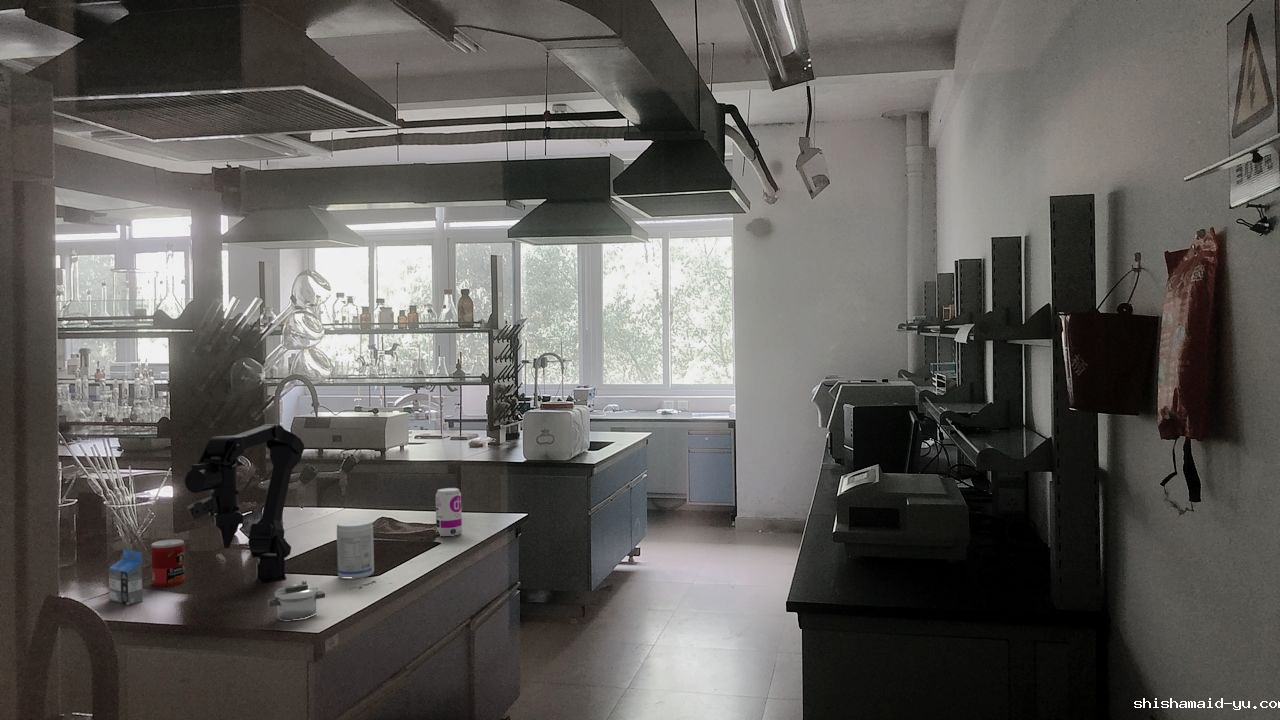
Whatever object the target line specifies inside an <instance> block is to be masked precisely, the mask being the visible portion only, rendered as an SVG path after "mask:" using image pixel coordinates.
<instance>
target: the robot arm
mask: <svg viewBox="0 0 1280 720" xmlns="http://www.w3.org/2000/svg"><path fill="white" fill-rule="evenodd" d="M262 444H264V447H265V448H266V449H268V450H269V459H270V462H271V464H272V470H271V474H270V479H269V482H268V488H267V492H266V495H265V496H266V497H265V500H264V501H265V502H264V506H263V509H262V514H261V518H260V519H259V520H258V522H255V523H254V522H253V523H251V526H250V530H249V535H248V536H247V539H248V547H249V551H250V554H251V556H252V558H255V559H256V558H258V559H257V562H256V563H255V572H256V573H255V574H256V575H255V576H256V577H255V578H256V579H257V580H258V581H259V582H260V583H261V584H262V583H264V584H265V583H269V582H275V581H282V580H284V581H285V580H287V576H286V565H285V564H286V561H285V559H286V558H287V557H289V556H290V555H291V551H292V546H291V545H290V544H289V543H288V542H287V541H286V540H285V528H284V526H283V523H282V518H283V512H284V507H285V503H286V499H287V496H288V495H287V494H288V491H289V485H290V480H291V476H292V471H293V470H294V468H295V467H296V466H297V465H298V464H299V463H300V462H301V459H302V456H303V453H304V451H305V444H304V441H302V439H301V438H300V437H298V436H297V435H296V434H294V433H292V431H291V432H290V431H289V430H287V429H285V428H284V427H283V426H282V425H280V424H279V423H265V424H262V425H261V426H258V427H255V428H252V429H248V430H247V431H243V432H239V433H237V434H234V435H220V436H219V435H218V436H212V437H210V438H209V439H208V442H207V444H206V445H205V448H204V450H203V452H202V454H201V456H200V458H199V460H198V463H196V464H192V465H191V470H189V471H188V472H187V474H186V475H185V478H184V485H185V487H186V489H187V490H188V492H190V493H192V494H198V493H202V492H206V491H210V492H209V496H208V497H205V498H202V499H201V500H198V501H196V502H193V503H190V504H189V505H187V506H186V508H187V510H188V513H189V515H190V516H191V517H190V518H191V520H192V521H196V520H197V519H200V518H201V517H202V516H205V515H207V514H208V515H209V517H213V519H211V522H212V523H213V525H214V526H215V527H217V528H218V530H219V533H220V537H221V542H222V545H223V548H224V549H230V547H231V544H232V542H233V539H234V537H235V534H236V532H237V530H238V528H239V525H241V524H245V523H244V521H245V519H244V514H243V513H242V512H241V511H240V506H239V499H238V498H239V497H238V495H239V494H240V493H239V492H240V491H239V489H238V467H243V465H244V464H243V462H242V461H241V460H239V459H238V458H239V457H241V456H242V455H244V454H245V453H246V451H247V450H248V449H251V448H253V447H256V446H258V445H262ZM213 515H214V516H213Z"/></svg>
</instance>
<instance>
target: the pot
mask: <svg viewBox="0 0 1280 720" xmlns="http://www.w3.org/2000/svg"><path fill="white" fill-rule="evenodd" d="M325 598H326V593H325V591H324V590H320V591H319V590H318V593H317V594H316V595H314V596H311V597H308V598H305V599H299V600H279V599H276V598H275V597H274V598H270V599H267V605H268V607H270V608H272V607H276V606H277V607H276V608H277V609H276V611H277V619H278V618H279V619H282V620H293V619H300V618H305V617H308V616H311V615H313V614H315V613H316V614H317V600H321V599H325Z"/></svg>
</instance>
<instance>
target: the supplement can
mask: <svg viewBox="0 0 1280 720" xmlns="http://www.w3.org/2000/svg"><path fill="white" fill-rule="evenodd" d="M462 515H463V514H462V492H461V491H460V488H457V487H445V488H439V489H437V491H436V493H435V521H436V524H435V525H436V527H435V529H436V528H437V530H438V532H439V534H440V535H442V536H453V535H458V536H460V535H461V533H463V532H462V531H463V526H462V525H463V523H462V521H463V520H462V518H463V517H462ZM437 530H436V531H437ZM459 534H460V535H459ZM453 537H454V536H453Z"/></svg>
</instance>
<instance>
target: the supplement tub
mask: <svg viewBox="0 0 1280 720" xmlns="http://www.w3.org/2000/svg"><path fill="white" fill-rule="evenodd" d="M374 549H375V548H374V525H373V520H371V519H369V518H368V519H367V518H354V519H346V520H342V521H341V520H340V521H339V522H337V523H336V551H337V552H336V553H337V555H336V556H337V575H338V577H339V578H340V577H352V578H359V579H363V578H367V577H370V576H372V575H373V573H374V572H375V559H374V558H375V553H374V552H375V551H374ZM343 580H349V579H348V578H346V579H345V578H344V579H343Z"/></svg>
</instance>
